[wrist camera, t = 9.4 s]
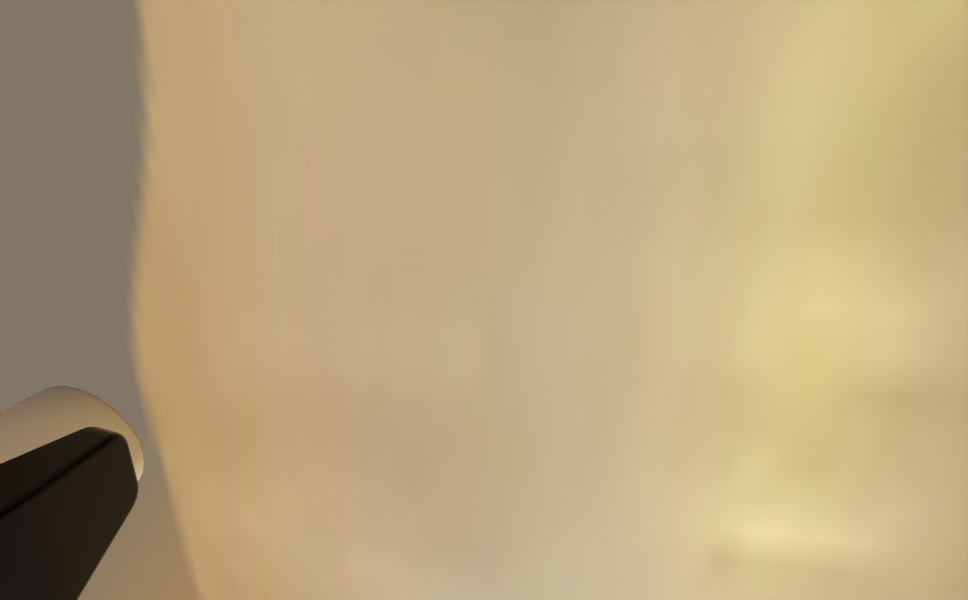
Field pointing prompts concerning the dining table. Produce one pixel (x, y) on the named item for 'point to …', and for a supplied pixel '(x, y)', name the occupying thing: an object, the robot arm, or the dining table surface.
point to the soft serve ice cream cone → (60, 422)
